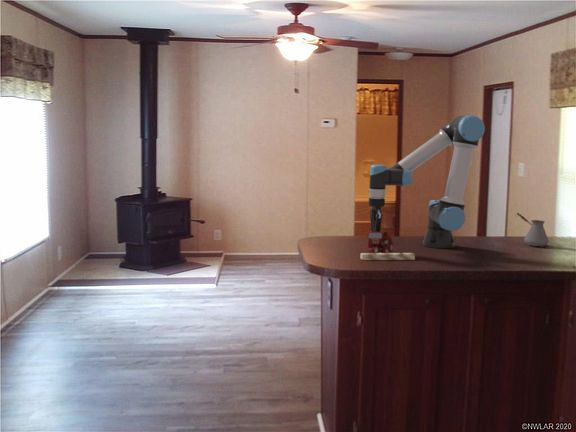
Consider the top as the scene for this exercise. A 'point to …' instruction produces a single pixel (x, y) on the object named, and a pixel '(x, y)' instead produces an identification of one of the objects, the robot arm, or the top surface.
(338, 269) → the top surface
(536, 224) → the coffee pot
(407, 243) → the top surface
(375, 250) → the toy fire truck
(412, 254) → the beige long bar
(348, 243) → the top surface
